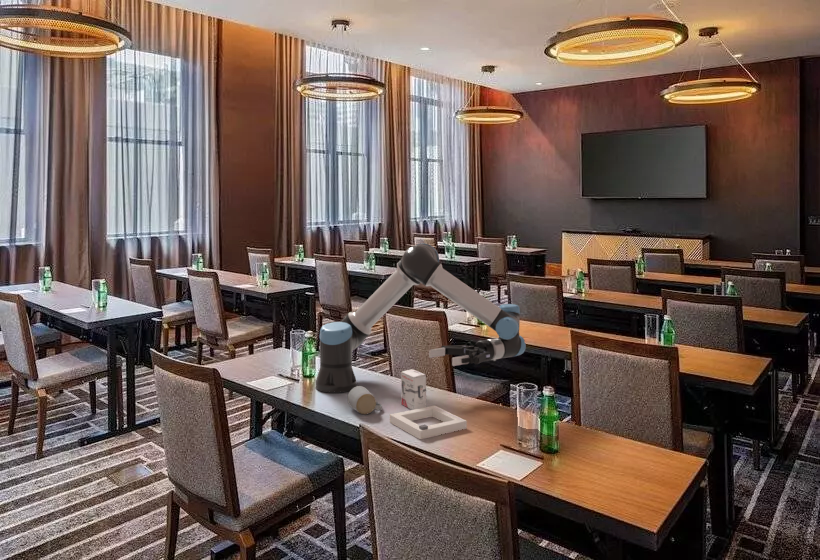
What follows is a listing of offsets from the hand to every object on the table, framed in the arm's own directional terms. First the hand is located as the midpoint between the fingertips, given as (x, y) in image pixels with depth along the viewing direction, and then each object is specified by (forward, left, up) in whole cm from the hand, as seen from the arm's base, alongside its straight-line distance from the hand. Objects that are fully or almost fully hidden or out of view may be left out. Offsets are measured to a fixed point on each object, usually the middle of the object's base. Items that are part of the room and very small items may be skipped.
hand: (440, 357), depth 212 cm
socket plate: (+17, -17, -16) cm, 28 cm away
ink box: (0, -11, -16) cm, 19 cm away
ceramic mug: (-5, -26, -16) cm, 31 cm away
